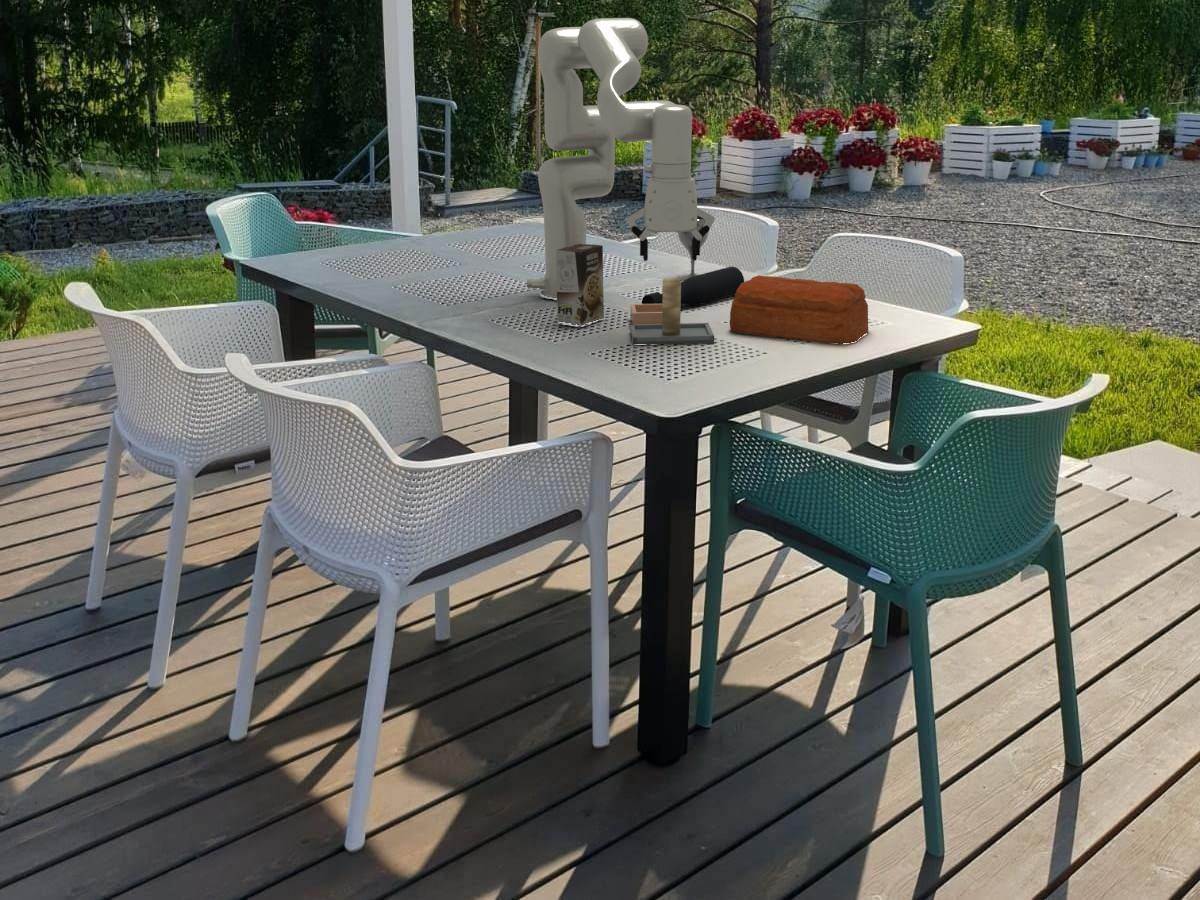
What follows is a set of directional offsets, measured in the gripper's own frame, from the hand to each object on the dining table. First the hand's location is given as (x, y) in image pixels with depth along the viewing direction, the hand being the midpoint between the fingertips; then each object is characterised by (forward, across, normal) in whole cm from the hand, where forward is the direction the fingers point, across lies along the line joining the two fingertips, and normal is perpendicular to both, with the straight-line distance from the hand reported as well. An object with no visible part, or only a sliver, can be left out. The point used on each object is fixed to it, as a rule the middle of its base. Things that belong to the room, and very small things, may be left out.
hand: (669, 259), depth 244 cm
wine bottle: (+13, +18, +39) cm, 45 cm away
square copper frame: (+16, -2, +12) cm, 20 cm away
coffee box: (+17, -18, +14) cm, 28 cm away
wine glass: (+18, +11, +58) cm, 61 cm away
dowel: (+15, 0, -1) cm, 15 cm away
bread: (+16, +27, +2) cm, 31 cm away
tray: (+16, 0, -1) cm, 16 cm away
